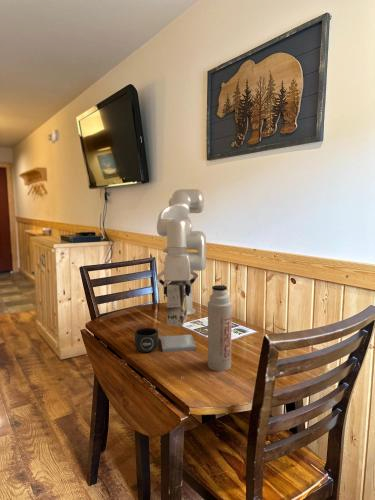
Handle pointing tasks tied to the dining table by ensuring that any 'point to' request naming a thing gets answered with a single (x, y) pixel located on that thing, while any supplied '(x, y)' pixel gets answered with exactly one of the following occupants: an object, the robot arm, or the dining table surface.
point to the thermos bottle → (219, 329)
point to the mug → (146, 339)
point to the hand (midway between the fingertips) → (177, 295)
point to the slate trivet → (177, 343)
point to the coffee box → (176, 303)
